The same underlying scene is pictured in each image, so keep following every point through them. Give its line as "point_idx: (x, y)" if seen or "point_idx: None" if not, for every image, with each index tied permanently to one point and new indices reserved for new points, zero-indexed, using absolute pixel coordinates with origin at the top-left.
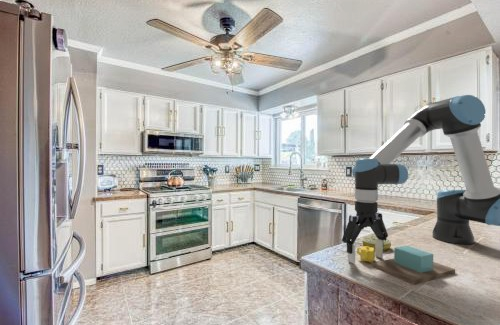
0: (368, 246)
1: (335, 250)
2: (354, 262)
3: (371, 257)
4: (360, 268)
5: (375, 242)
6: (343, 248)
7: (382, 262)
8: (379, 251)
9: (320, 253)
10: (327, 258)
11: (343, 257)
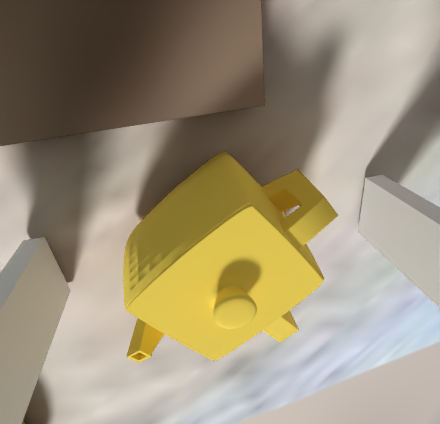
0: (221, 317)
1: (285, 381)
2: (378, 180)
3: (245, 172)
4: (398, 88)
5: (20, 419)
6: (212, 405)
7: (159, 81)
8: (30, 296)
9: (399, 348)
10: None
11: (330, 291)
